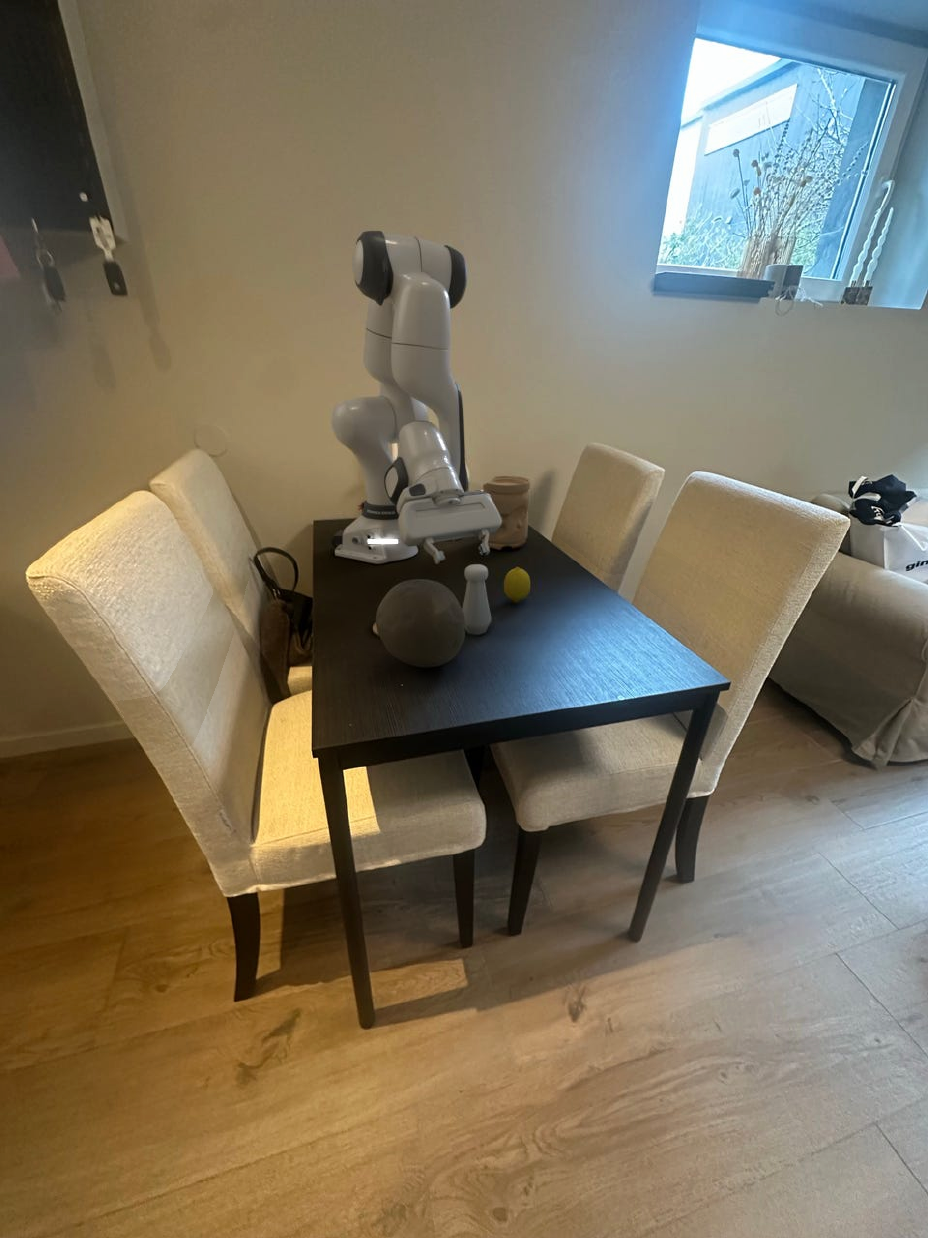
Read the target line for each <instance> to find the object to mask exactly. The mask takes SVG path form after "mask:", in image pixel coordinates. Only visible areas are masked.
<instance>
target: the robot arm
mask: <svg viewBox="0 0 928 1238" xmlns="http://www.w3.org/2000/svg"><path fill="white" fill-rule="evenodd" d="M351 261H352V262H351V267H352V268H351V269H352V272H353V274H352V275H353V279H354V283H355V285H356V287H357V289H358V290H359V291H360V293H361V294H362V295H364V296H365V297H366V298H368V299H369V302H368V306H367V313H366V322H365V332H364V333H365V334H364V335H365V336H364V346H363V347H364V348H363V359H362V361H363V366H364V367H365V370H366V372H367V373H368V374H369V375H370V376H371V377H372V378H373V379H374V380H376V381H377V382H378V384H379V394H378V395H377V396H360V397H359V396H357V397H353V398H349V399H346V400H343V401H340V402H338V403H337V404H336V405H334V408H333V410H332V412H331V419H330V424H331V429H332V431H333V434H334V436H335V438H336V439H337V441H339V442H340V443H341V444H342V445H343V446H344V447H346V448H347V449H348V450H350V452H351V453H352V454H353V455H354V456H355V457H354V458H356V460H357V461H358V464H359V466H360V469H361V472H362V477H363V481H364V490H365V498H366V499H365V500H364V501H363V502H361V504H359V505H357V510H358V511H360V510H361V515H359V516H358V517H357V518H356V519H355V520H353V521H352V522H351V523H350V524H349V525H348V526H346V528H345V529H343V530H341V529H339V530H338V531H337V532H336V533H335V534H333V537H332V538H331V540H330V543H331V545H332V547H333V548H334V556H336V557H340V558H346V559H351V560H356V561H361V562H366V563H370V564H376V565H380V564H385V563H388V562H394V561H395V562H396V561H402V560H406V559H410V558H412V557H414V556H415V555H417V554H418V552H419V549H418V546H423V549H424V551H426V553H428V554H429V555H430V556H431V557H432V558H433V561H434V563H435V564H436V565H437V564H442V563H444V562H445V561H446V557H445V555H444V554H445V552H444V551H443V550H438V549H437V547H436V546H434V544H436V543H442V542H447V541H454V540H461V539H467V538H473V537H478V540H479V541H481V543H480V544H479V546H478V547H477V552H479V556H481V557H482V556H487V555H489V554H490V552H491V549H490V547H489V546H488V544H487V543H488V539H489V534H492V533H495V532H496V531H497V530H498V529H499V527H500V526H501V523H502V519H501V517H500V514H499V512H498V511H497V509H496V507H495V505H494V503H493V501H492V499H491V496H490V495H489V494H488V493H486V492H483V489H476V490H469V489H470V488H469V487H470V485H469V478H468V477H469V476H468V471H467V466H466V449H465V446H466V445H465V419H464V418H465V417H464V403H463V402H464V401H463V395H462V390H461V388H460V386H459V384H458V383H457V382H456V381H455V379H454V377H453V373H452V369H451V368H452V367H451V363H450V362H451V361H450V355H451V352H450V351H451V342H452V341H451V340H452V339H451V338H452V316H451V309H454V308H456V307H457V306H458V304H459V303H461V302H462V300H463V298H464V295H465V292H466V288H467V284H468V283H467V282H468V266H467V262H466V260H465V257H464V255H463V254H462V253H461V252H460V251H459V250H457V249H456V248H454V247H452V246H450V245H448V244H445V245H442V244H439V243H438V242H435V241H432V240H429V239H425V238H422V237H419V236H416V235H415V236H410V235H409V236H408V235H403V234H396V233H384V232H383V231H381V230H366V231H363V232H362V233H361V234H360V235H359V236H358V238H357V239H356V242H355V246H354V249H353V253H352V259H351ZM427 407H428V408H429V409H431V410H432V412H433V413H434V414H435V416H436V418H437V421H438V426H439V427H437V426H436V424H435V423H434V422H432V421H430V418H429V417H430V416H429V411H428V408H427ZM395 444H398V452H397V456H396V458H395V459H394V458H393V456H392V454H391V451H390V447H389V445H395ZM337 545H338V546H337Z"/></svg>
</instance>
